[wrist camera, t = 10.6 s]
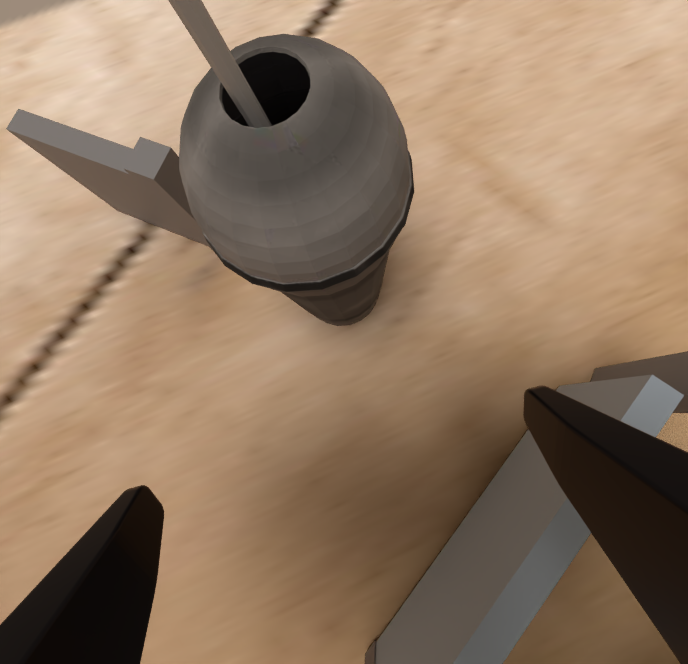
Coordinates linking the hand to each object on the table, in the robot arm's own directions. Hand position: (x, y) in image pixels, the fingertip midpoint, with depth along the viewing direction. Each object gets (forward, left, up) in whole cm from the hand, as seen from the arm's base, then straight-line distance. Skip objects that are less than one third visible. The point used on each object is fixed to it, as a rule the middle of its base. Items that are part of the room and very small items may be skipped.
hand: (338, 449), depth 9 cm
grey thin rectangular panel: (-7, +2, -13) cm, 15 cm away
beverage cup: (+5, -7, -14) cm, 16 cm away
